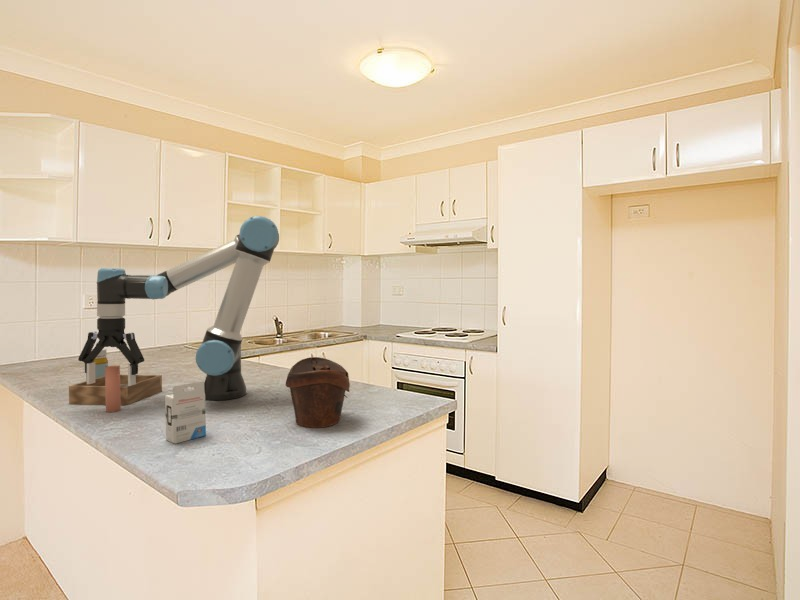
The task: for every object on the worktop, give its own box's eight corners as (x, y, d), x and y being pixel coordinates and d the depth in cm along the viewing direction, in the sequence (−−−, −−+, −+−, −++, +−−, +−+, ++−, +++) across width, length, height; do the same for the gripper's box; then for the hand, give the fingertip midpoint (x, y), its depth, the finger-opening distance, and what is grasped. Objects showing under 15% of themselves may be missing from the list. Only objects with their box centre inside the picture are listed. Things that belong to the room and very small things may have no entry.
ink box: (197, 432, 125) (196, 378, 124) (206, 435, 122) (205, 380, 121) (165, 440, 118) (164, 383, 118) (173, 444, 115) (172, 386, 114)
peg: (123, 408, 147) (122, 365, 147) (114, 412, 143) (114, 367, 143) (111, 408, 148) (110, 365, 147) (102, 411, 144) (101, 367, 143)
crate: (162, 391, 172) (161, 375, 171) (126, 405, 152) (125, 387, 151) (111, 390, 173) (110, 374, 173) (69, 403, 153) (68, 386, 153)
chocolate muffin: (324, 436, 121) (324, 368, 121) (271, 424, 132) (271, 361, 132) (364, 420, 136) (364, 360, 136) (314, 410, 147) (314, 354, 147)
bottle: (97, 391, 171) (96, 351, 171) (81, 390, 173) (81, 350, 172) (112, 387, 178) (112, 348, 178) (97, 386, 180) (96, 348, 179)
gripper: (156, 317, 147) (156, 383, 148) (83, 315, 149) (83, 380, 150) (141, 319, 140) (141, 388, 141) (64, 317, 142) (64, 385, 142)
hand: (111, 384), depth 145 cm, fingers open, 13 cm apart
